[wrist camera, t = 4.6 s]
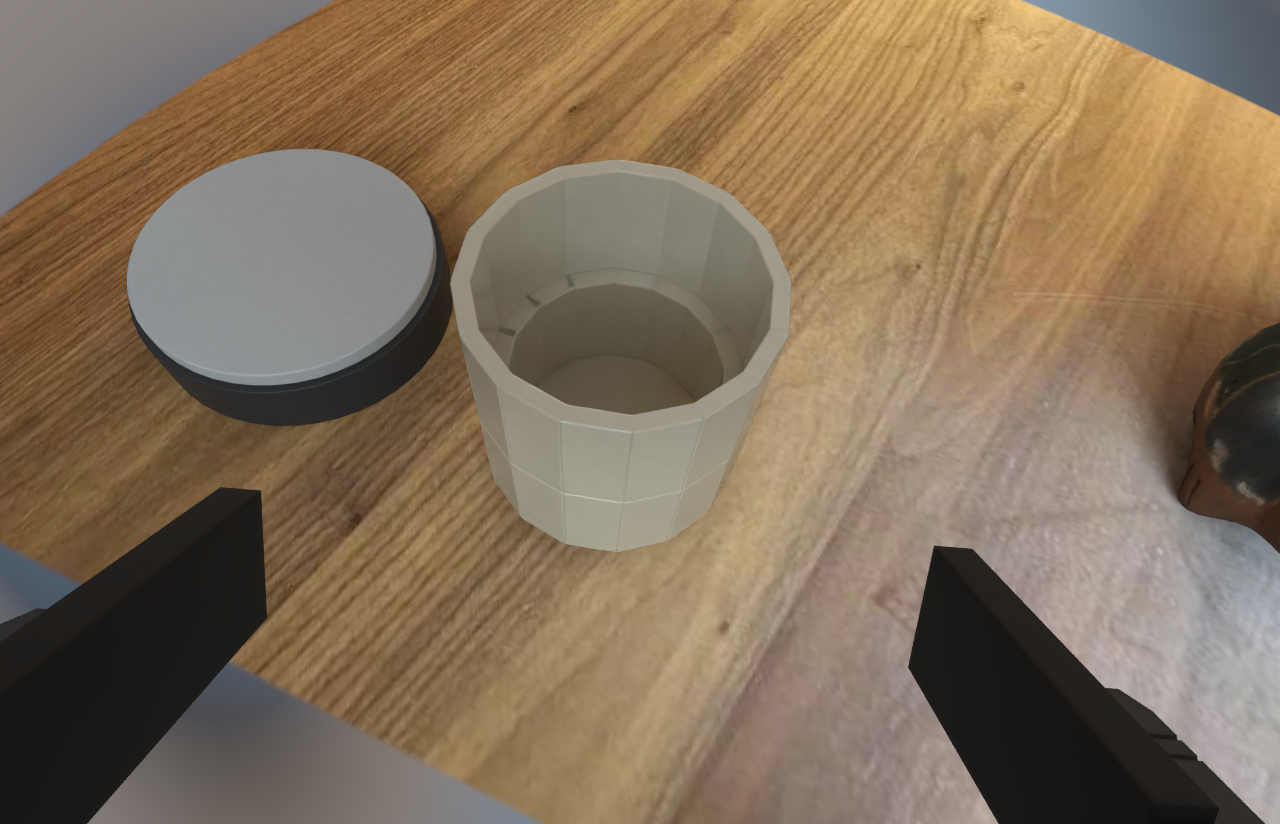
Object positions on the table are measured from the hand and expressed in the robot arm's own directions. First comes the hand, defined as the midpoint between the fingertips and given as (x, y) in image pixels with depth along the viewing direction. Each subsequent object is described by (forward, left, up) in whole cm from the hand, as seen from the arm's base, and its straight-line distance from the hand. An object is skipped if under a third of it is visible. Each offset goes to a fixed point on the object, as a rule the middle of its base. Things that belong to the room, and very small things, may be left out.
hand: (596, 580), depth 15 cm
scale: (-9, +20, -15) cm, 27 cm away
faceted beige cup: (+3, +10, -15) cm, 18 cm away
